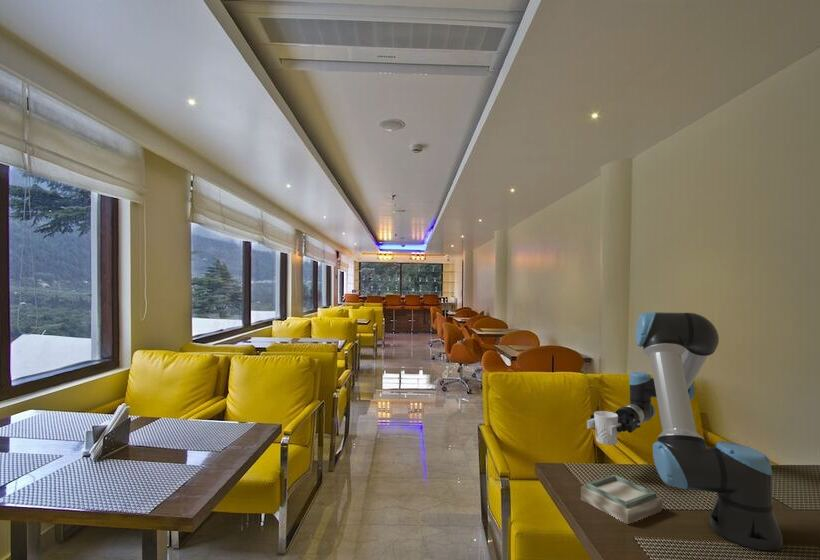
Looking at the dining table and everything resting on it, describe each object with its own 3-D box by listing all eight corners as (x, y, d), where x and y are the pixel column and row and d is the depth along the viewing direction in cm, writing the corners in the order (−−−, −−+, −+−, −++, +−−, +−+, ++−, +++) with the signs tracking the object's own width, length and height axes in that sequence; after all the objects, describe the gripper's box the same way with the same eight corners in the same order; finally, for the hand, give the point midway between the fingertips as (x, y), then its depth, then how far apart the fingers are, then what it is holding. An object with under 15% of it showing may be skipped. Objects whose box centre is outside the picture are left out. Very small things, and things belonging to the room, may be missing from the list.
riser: (662, 511, 120) (661, 493, 120) (628, 525, 113) (627, 506, 113) (613, 488, 134) (613, 472, 135) (580, 499, 127) (580, 482, 127)
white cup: (613, 438, 148) (612, 411, 149) (622, 446, 140) (621, 417, 141) (591, 437, 149) (590, 410, 149) (599, 445, 141) (598, 417, 142)
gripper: (658, 433, 147) (629, 447, 134) (603, 419, 164) (572, 430, 150) (657, 412, 148) (628, 424, 134) (603, 400, 164) (572, 410, 150)
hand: (599, 427), depth 142 cm, fingers closed on white cup, 8 cm apart
